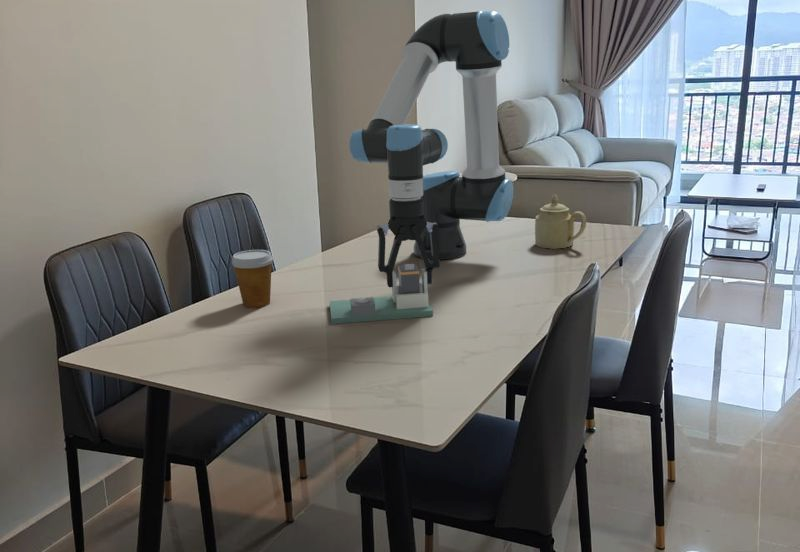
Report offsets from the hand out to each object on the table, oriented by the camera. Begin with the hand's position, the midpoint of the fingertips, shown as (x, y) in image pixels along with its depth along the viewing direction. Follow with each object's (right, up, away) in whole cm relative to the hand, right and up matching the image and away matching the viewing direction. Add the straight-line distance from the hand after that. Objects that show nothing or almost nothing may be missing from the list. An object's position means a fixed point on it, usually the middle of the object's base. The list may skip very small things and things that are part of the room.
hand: (410, 298), depth 161 cm
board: (-7, -3, -1) cm, 7 cm away
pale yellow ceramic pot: (+45, +14, +49) cm, 68 cm away
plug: (0, -1, 0) cm, 1 cm away
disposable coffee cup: (-36, -2, +7) cm, 37 cm away
